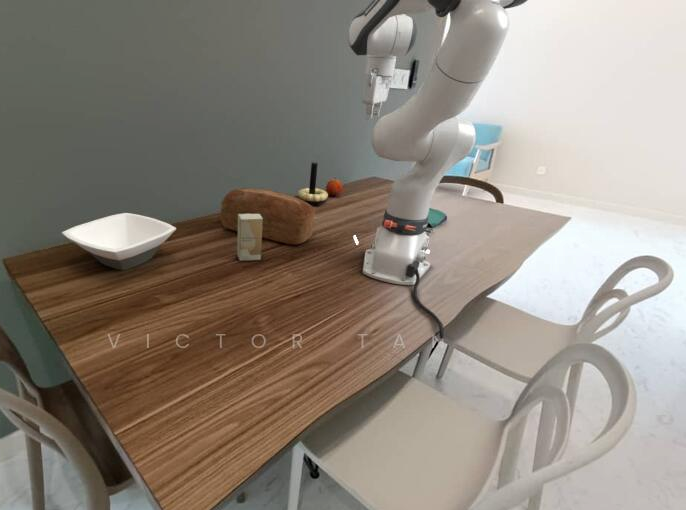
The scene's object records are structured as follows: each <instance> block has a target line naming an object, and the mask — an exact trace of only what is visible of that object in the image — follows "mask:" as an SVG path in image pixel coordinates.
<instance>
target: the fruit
mask: <svg viewBox="0 0 686 510" xmlns="http://www.w3.org/2000/svg"><path fill="white" fill-rule="evenodd" d="M343 187H344V186H343V183H342V182H341V180H339V179H337V178H333V179H330V180H328V181H327V183H326V186H325V189H326V190H325V191H326V192H327V194H328V196H331V197H337V196H340V194H341V193H342V192H343V189H344V188H343Z"/></svg>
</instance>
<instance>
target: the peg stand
mask: <svg viewBox="0 0 686 510" xmlns="http://www.w3.org/2000/svg"><path fill="white" fill-rule="evenodd" d="M310 165H311V166H310V178H309V187H308V188H309V194H315V188H317V187H316V185H317V174H318V162H316V161H312V162H311V163H310ZM297 198H298V197H297ZM298 199H301V198H298ZM301 200H303V199H301ZM303 201H305V202H307V203H308V204H310V205H311V206H312V207H317V208H318V207H320V206H321V205H322V204H324V202H326V199H325V200H324V201H319V202H311V201H306V200H303Z"/></svg>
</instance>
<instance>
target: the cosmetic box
mask: <svg viewBox="0 0 686 510" xmlns="http://www.w3.org/2000/svg"><path fill="white" fill-rule="evenodd" d="M262 223H263V218H262V216H261V215H260V214H238V231H237V245H236V246H237V247H236V249H237V253H236V255H237V258H238V260H239V262H242V261H261V260H262V242H263V238H262Z"/></svg>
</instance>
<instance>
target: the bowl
mask: <svg viewBox="0 0 686 510" xmlns="http://www.w3.org/2000/svg"><path fill="white" fill-rule="evenodd" d="M176 230H177V227H175V226H173V225H172V224H170V223H168V222H165V221H162V220H159V219H157V218H153V217H149V216H147V215H141V214H138V213H137V214H135V213H130V212H122V213H117V214H112V215H108V216H104V217H102V218H97V219H94V220H91V221H88V222H85V223H81V224H78V225H74V226H73V227H71V228H67V229H66V230H64V231H61V234H62V235H63V236H64V237H66V238H67V239H68V240H69V241H71V242H72V243H74V244H76V245H77V246H79V247H80V248H81V249H83V250H84V251H86V252H88V253H89V254H90V255H91V256H92V257H94V258H95V259H96V260H97V261H98V262H100V263H101V264H102V265H104V266H106V267H109V268H112V269H115V270H120V271H126V270H130V269H132V268H135V267H138V266H140V265H142V264H144V263H146V262H148V261H149V260H151V259H152V258H154V256H155V255H156V253H157V252H158V250H159V249H160V248H161V246H162V245H163V243H165V242H166V241H167V240H168V239H169V237H171V235H172V234H173V233H174V232H175V231H176Z"/></svg>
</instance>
